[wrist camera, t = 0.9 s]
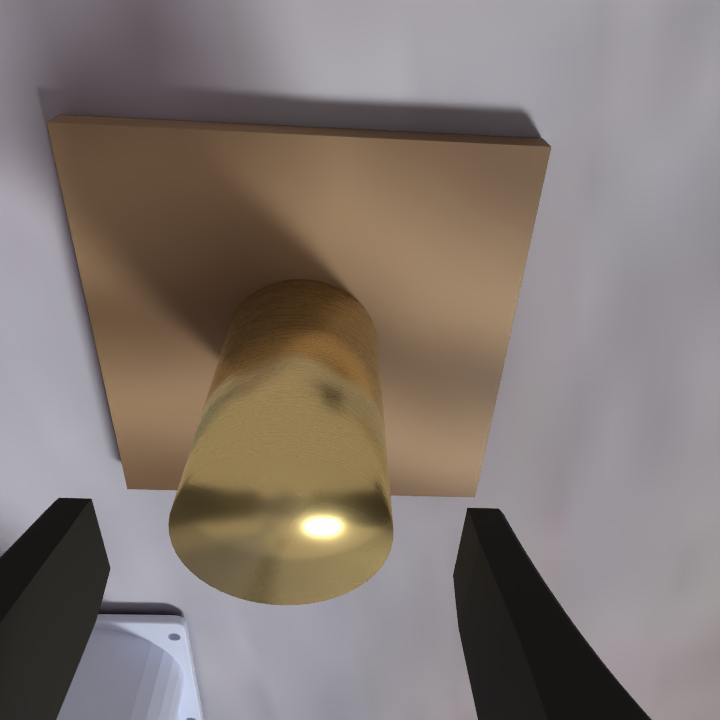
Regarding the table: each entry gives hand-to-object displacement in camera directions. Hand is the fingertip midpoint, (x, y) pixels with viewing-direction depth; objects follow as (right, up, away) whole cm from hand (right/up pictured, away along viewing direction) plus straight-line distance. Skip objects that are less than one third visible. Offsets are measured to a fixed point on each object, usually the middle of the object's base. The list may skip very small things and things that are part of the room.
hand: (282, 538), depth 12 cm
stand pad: (0, +4, +7) cm, 8 cm away
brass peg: (0, +4, +6) cm, 7 cm away
